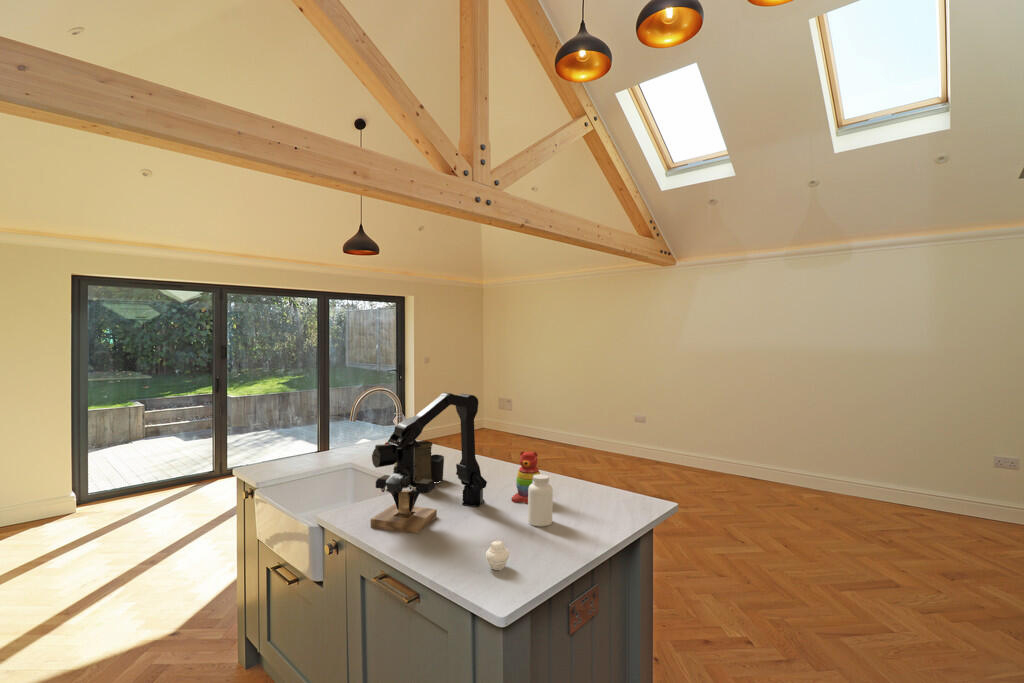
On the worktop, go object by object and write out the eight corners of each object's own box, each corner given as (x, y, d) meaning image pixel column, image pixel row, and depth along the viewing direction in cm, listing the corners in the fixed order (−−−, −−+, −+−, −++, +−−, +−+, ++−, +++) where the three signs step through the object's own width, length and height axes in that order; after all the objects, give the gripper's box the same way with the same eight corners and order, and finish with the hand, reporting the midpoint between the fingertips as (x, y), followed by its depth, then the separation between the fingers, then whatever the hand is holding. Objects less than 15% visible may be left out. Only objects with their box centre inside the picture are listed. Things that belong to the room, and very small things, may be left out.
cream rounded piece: (493, 576, 115) (494, 548, 115) (480, 566, 120) (481, 539, 120) (513, 569, 119) (514, 542, 119) (500, 560, 124) (500, 533, 124)
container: (427, 492, 178) (428, 445, 179) (406, 490, 180) (406, 444, 180) (436, 485, 187) (436, 441, 187) (415, 483, 189) (415, 439, 189)
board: (436, 516, 154) (436, 509, 154) (416, 533, 140) (416, 525, 140) (393, 511, 158) (394, 504, 158) (370, 526, 145) (370, 518, 145)
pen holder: (441, 484, 189) (442, 460, 189) (418, 484, 189) (419, 459, 189) (445, 477, 198) (445, 454, 198) (423, 477, 198) (423, 454, 198)
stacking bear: (509, 501, 169) (510, 453, 169) (519, 493, 178) (520, 447, 178) (537, 506, 165) (538, 456, 165) (546, 497, 174) (546, 450, 174)
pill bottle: (554, 519, 152) (555, 474, 152) (548, 528, 145) (549, 481, 145) (531, 516, 155) (532, 471, 155) (524, 525, 147) (525, 478, 147)
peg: (413, 518, 150) (413, 490, 150) (407, 522, 147) (407, 494, 147) (402, 516, 152) (402, 489, 152) (395, 521, 148) (396, 493, 148)
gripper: (365, 466, 144) (365, 516, 144) (419, 471, 139) (419, 523, 139) (385, 457, 155) (384, 504, 155) (435, 462, 150) (435, 510, 149)
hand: (404, 510), depth 149 cm, fingers closed on peg, 4 cm apart
